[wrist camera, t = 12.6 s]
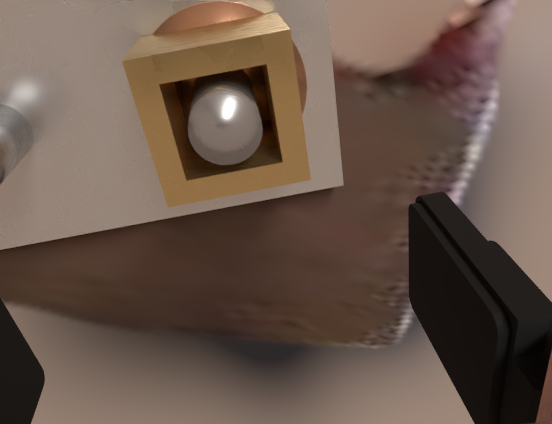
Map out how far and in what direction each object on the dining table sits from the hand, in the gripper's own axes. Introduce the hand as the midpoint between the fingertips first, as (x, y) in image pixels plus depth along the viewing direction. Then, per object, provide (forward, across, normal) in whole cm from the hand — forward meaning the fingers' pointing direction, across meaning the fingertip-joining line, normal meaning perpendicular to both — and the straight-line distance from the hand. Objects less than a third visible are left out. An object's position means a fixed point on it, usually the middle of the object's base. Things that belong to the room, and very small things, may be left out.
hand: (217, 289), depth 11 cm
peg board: (+19, +5, +1) cm, 20 cm away
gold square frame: (+17, -1, +1) cm, 17 cm away
